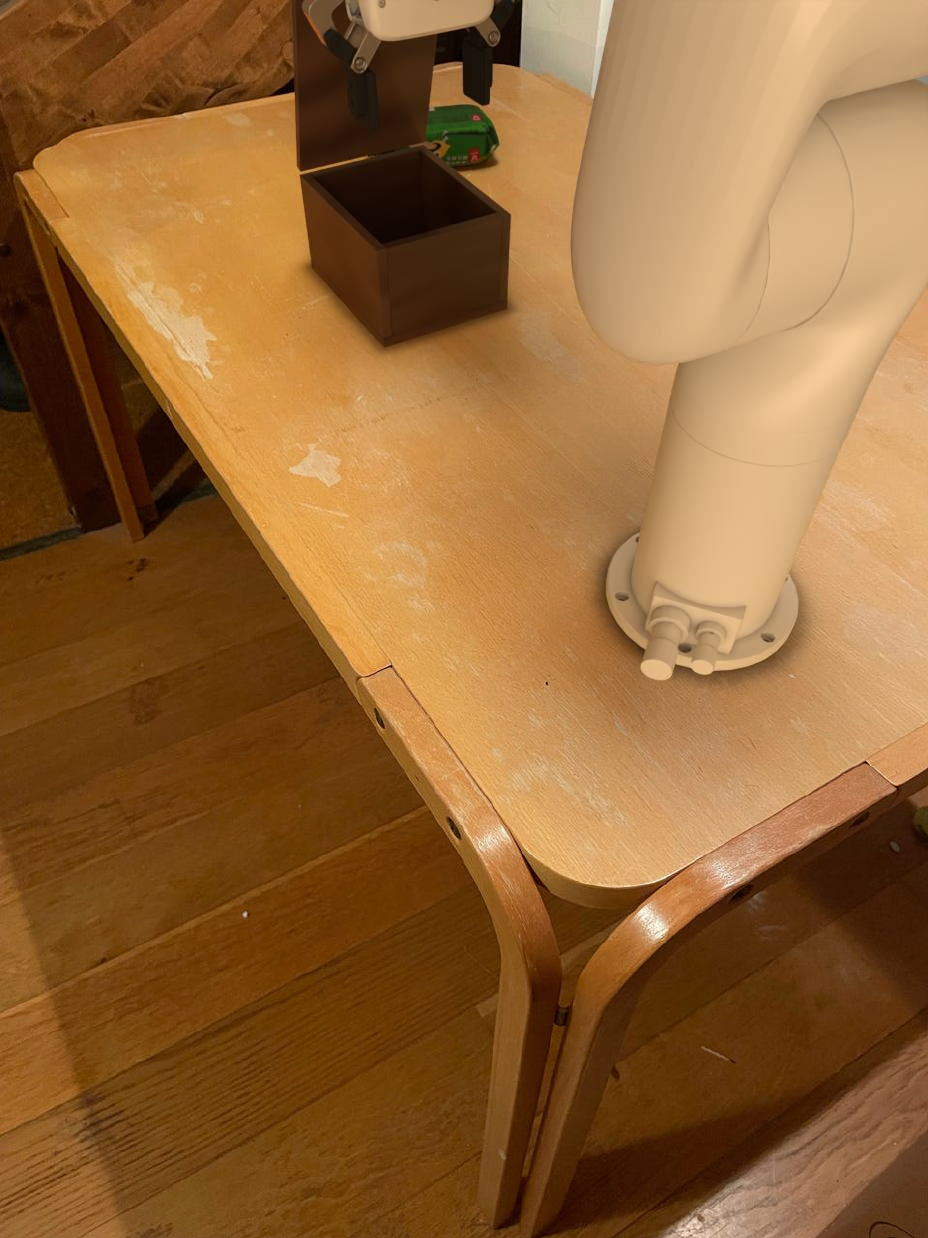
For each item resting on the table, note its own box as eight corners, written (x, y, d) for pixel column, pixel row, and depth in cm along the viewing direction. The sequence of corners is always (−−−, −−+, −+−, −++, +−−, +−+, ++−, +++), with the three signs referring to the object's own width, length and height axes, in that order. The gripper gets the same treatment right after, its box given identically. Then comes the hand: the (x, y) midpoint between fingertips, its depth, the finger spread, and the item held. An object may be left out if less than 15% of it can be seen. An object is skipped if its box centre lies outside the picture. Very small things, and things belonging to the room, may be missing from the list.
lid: (446, -52, 70) (413, -92, 71) (294, -28, 65) (263, -71, 67) (425, 141, 84) (398, 104, 86) (300, 171, 80) (274, 132, 82)
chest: (507, 308, 83) (511, 213, 76) (384, 347, 79) (376, 251, 72) (426, 235, 92) (423, 144, 85) (311, 266, 88) (299, 174, 81)
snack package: (360, 153, 104) (356, 105, 100) (491, 141, 106) (492, 93, 102) (369, 181, 99) (365, 132, 95) (505, 168, 102) (507, 119, 97)
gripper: (308, -158, 52) (341, 153, 65) (557, -186, 57) (542, 106, 70) (260, -177, 56) (300, 118, 69) (496, -200, 62) (492, 77, 74)
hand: (422, 112), depth 69 cm, fingers open, 9 cm apart
